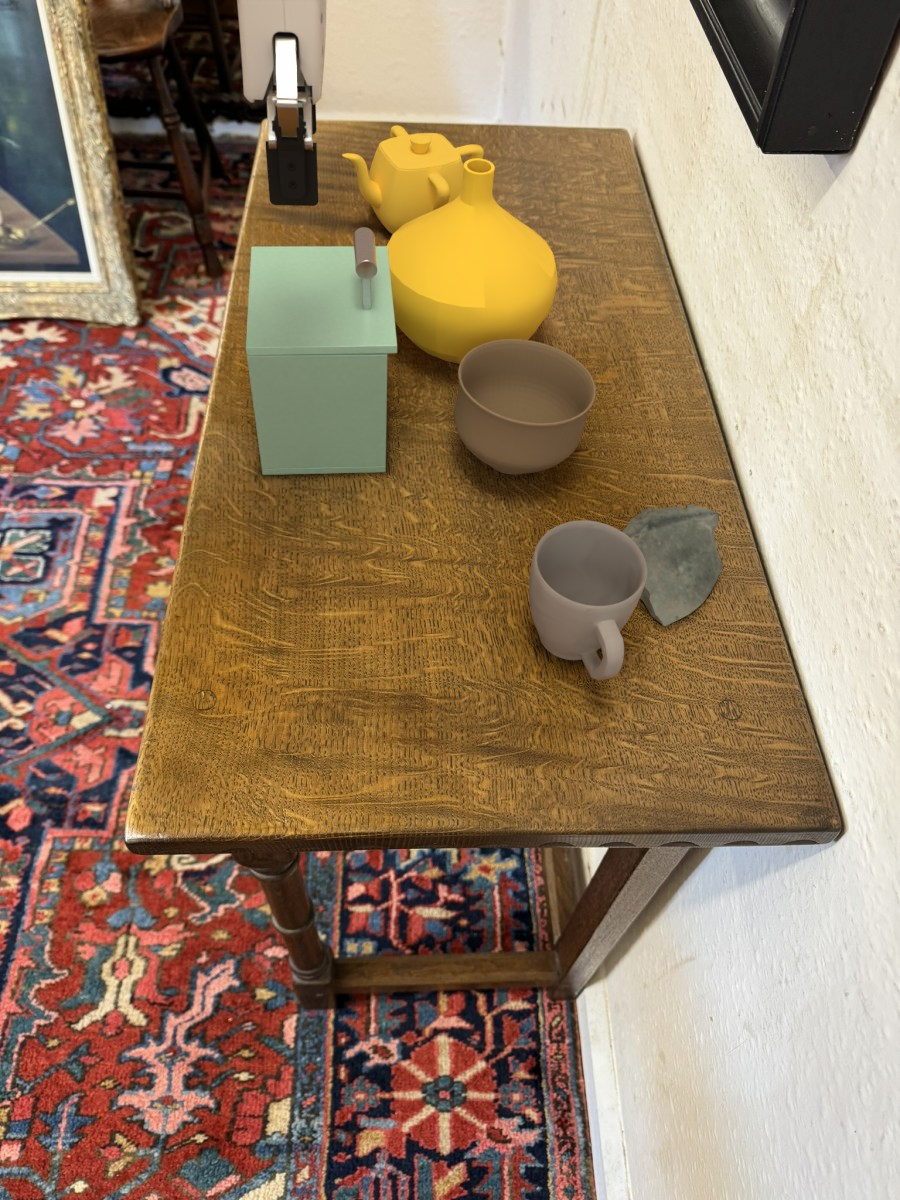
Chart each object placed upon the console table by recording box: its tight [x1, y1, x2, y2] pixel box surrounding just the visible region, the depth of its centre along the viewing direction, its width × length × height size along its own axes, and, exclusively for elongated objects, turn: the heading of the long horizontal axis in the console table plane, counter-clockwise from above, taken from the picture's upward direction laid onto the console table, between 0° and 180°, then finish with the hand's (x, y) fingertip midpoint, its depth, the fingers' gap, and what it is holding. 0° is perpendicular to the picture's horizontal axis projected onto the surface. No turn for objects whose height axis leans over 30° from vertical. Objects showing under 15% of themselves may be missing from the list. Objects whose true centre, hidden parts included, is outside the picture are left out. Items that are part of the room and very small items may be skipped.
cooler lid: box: [245, 226, 398, 356], centre depth 79 cm, size 12×15×6 cm
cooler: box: [246, 353, 389, 476], centre depth 87 cm, size 12×15×14 cm
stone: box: [621, 503, 724, 627], centre depth 82 cm, size 11×4×10 cm
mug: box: [528, 520, 647, 681], centre depth 74 cm, size 12×9×10 cm
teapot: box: [341, 124, 485, 235], centre depth 111 cm, size 14×13×10 cm
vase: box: [386, 158, 559, 365], centre depth 95 cm, size 18×18×19 cm
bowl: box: [453, 339, 597, 476], centre depth 87 cm, size 13×13×10 cm
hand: (294, 166), depth 65 cm, fingers open, 9 cm apart
